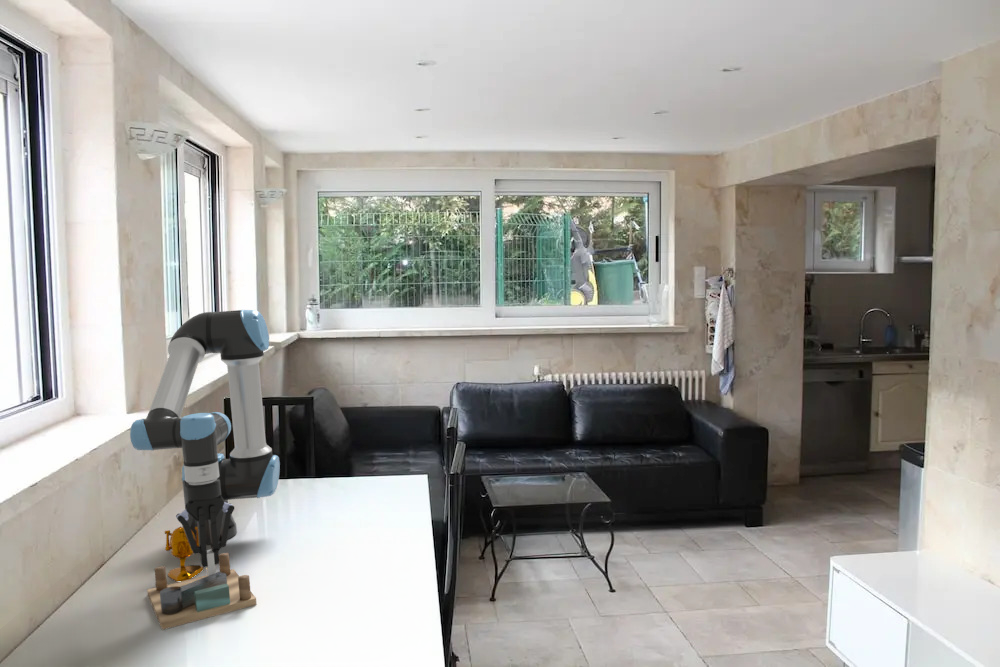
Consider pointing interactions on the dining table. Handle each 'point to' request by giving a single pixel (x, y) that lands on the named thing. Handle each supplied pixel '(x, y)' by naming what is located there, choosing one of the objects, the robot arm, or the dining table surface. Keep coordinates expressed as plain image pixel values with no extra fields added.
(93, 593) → the dining table surface
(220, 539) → the robot arm
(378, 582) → the dining table surface
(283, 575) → the dining table surface
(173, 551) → the figurine
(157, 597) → the board
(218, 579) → the leg
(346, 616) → the dining table surface
